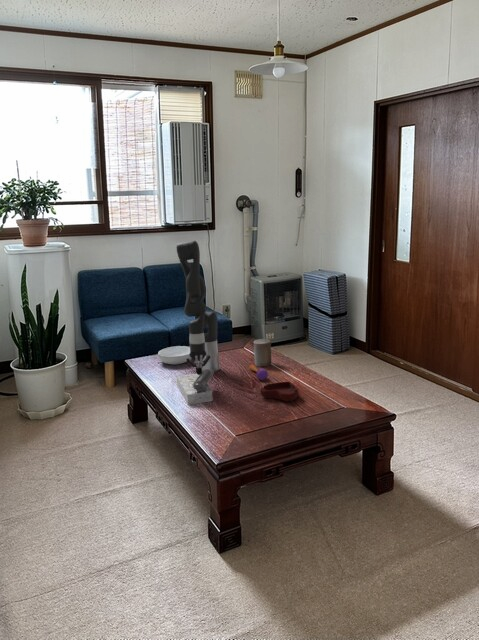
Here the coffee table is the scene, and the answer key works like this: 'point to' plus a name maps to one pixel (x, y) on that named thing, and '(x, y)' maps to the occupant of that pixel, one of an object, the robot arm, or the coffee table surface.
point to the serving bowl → (174, 354)
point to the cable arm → (203, 379)
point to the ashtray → (280, 391)
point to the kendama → (259, 372)
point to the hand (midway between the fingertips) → (199, 374)
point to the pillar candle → (262, 352)
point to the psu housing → (193, 390)
